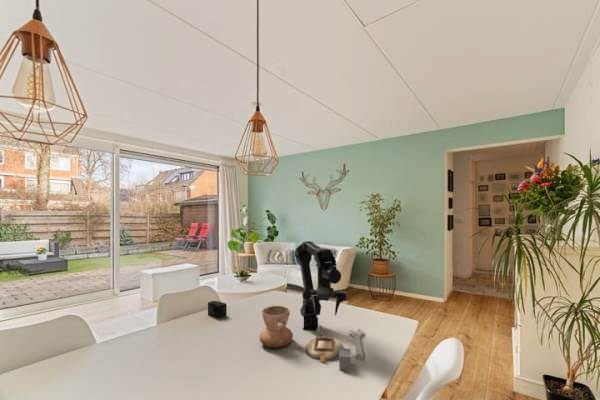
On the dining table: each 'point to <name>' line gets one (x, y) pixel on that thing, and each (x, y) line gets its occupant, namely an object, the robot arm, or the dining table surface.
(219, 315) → the digital camera
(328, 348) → the index disc
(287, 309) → the ceramic jug
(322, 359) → the turntable base
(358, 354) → the adjustable wrench
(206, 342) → the dining table surface
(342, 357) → the link block
